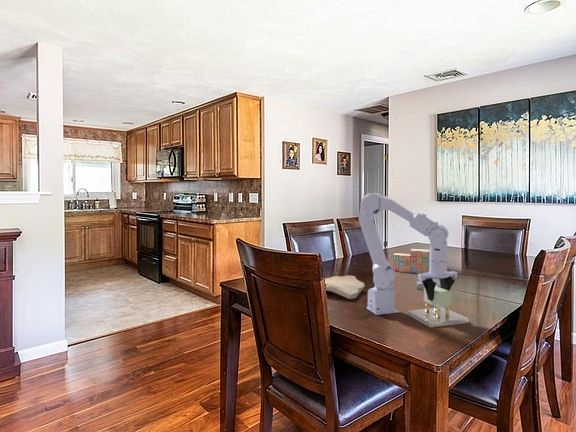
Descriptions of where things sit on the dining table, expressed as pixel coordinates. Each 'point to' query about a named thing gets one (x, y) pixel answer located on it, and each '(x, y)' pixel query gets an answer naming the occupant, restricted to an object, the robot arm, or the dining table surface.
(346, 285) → the cream rock
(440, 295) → the block
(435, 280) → the stone block
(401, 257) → the stack of blocks
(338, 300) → the dining table surface
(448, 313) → the base plate
